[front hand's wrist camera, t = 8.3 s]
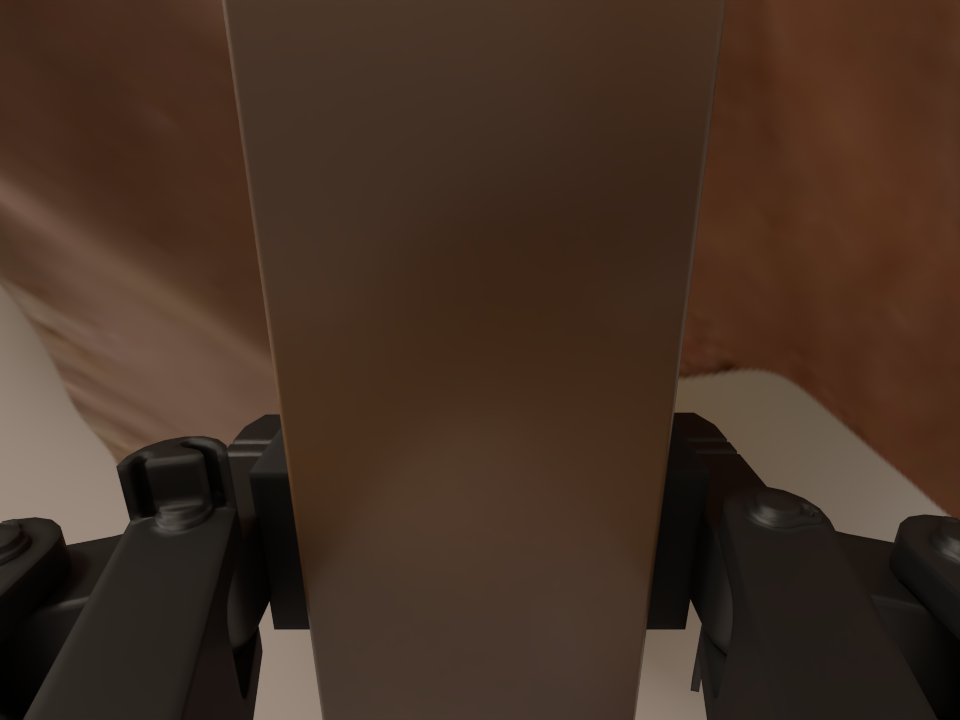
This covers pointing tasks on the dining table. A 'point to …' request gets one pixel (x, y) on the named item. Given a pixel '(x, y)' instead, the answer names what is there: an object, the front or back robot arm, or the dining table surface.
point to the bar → (476, 331)
